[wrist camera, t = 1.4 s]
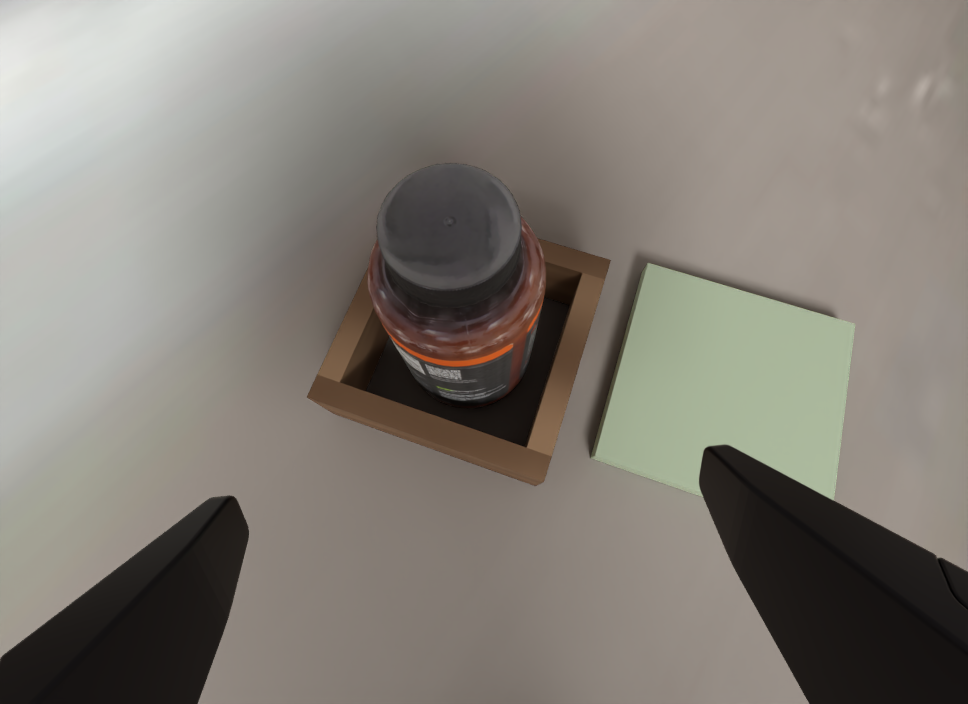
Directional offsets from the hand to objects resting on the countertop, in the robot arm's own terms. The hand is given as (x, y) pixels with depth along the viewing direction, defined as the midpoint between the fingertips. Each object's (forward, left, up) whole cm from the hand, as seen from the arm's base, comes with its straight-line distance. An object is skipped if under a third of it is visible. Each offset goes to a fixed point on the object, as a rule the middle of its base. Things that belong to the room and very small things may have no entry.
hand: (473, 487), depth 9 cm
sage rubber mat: (+8, -9, -13) cm, 18 cm away
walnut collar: (+6, +3, -13) cm, 15 cm away
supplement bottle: (+6, +3, -13) cm, 15 cm away
